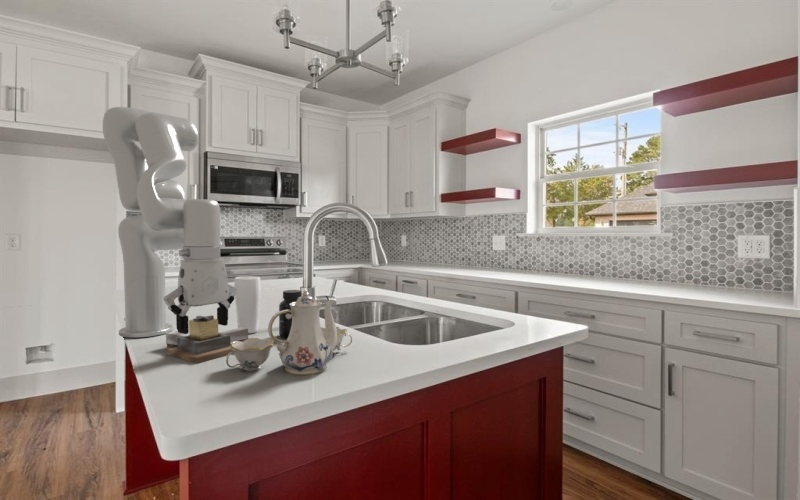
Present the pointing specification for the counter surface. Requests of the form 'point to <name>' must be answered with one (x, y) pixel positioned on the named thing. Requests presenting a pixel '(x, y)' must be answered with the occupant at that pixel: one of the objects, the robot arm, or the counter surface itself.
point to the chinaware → (296, 340)
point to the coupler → (203, 328)
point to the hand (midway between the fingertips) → (203, 328)
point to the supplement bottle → (286, 323)
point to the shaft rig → (203, 345)
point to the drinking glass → (248, 302)
